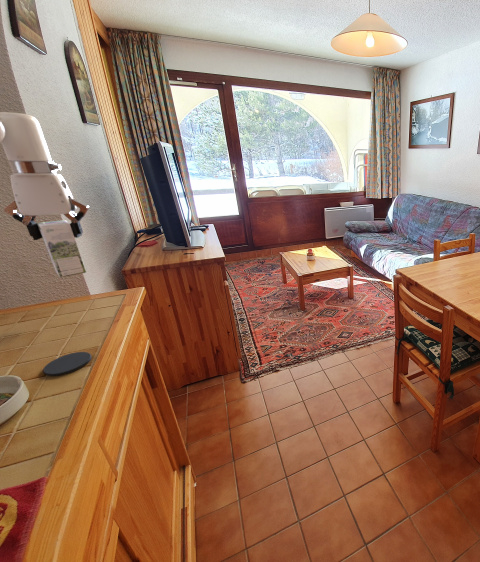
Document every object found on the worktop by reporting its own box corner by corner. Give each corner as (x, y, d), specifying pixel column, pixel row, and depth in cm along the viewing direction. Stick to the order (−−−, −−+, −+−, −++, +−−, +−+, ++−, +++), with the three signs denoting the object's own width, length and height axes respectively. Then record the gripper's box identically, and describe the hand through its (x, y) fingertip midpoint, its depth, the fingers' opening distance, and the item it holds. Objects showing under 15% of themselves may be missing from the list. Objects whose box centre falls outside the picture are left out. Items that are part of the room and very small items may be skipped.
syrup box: (82, 268, 91) (65, 219, 86) (87, 273, 88) (69, 222, 82) (55, 273, 87) (35, 222, 82) (59, 278, 84) (39, 225, 78)
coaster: (36, 380, 63) (35, 377, 62) (53, 358, 69) (52, 356, 69) (84, 370, 66) (83, 368, 65) (96, 350, 72) (95, 348, 72)
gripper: (83, 168, 84) (103, 232, 90) (-6, 167, 77) (22, 237, 83) (72, 169, 77) (94, 238, 84) (-26, 169, 70) (6, 244, 77)
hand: (58, 237), depth 84 cm, fingers closed on syrup box, 7 cm apart
